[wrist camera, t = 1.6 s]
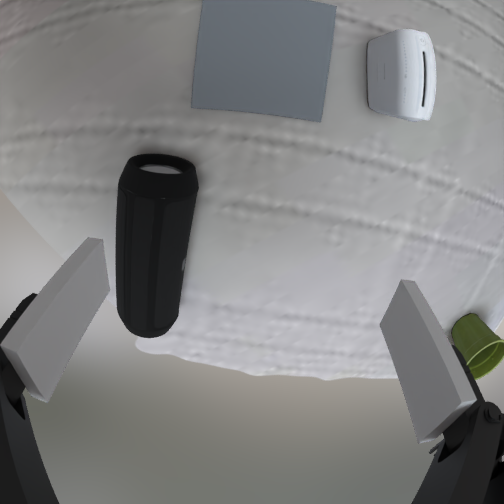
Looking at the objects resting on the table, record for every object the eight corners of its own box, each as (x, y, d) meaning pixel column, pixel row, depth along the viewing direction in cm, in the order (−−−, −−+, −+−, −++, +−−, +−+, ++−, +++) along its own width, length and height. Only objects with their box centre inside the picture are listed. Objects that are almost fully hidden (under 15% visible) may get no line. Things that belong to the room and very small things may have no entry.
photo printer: (363, 36, 29) (404, 20, 18) (394, 42, 29) (443, 30, 18) (364, 111, 34) (405, 124, 23) (394, 114, 34) (442, 129, 23)
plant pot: (492, 302, 49) (517, 337, 40) (471, 341, 55) (490, 376, 46) (455, 304, 50) (479, 344, 40) (434, 346, 56) (451, 385, 46)
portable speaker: (183, 306, 51) (169, 349, 43) (129, 292, 50) (108, 332, 42) (208, 161, 39) (192, 184, 30) (139, 147, 38) (105, 167, 29)
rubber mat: (205, -7, 27) (204, -9, 26) (335, 7, 27) (336, 6, 26) (192, 107, 35) (191, 108, 34) (319, 121, 35) (320, 122, 34)
